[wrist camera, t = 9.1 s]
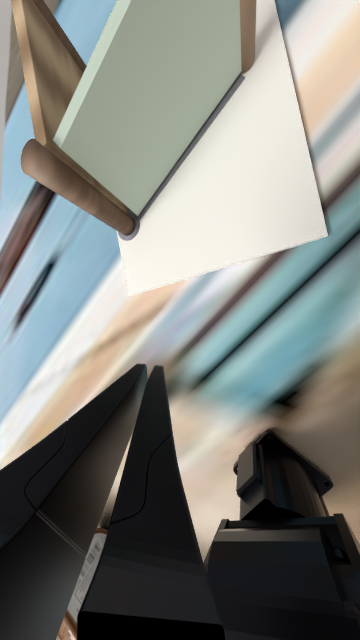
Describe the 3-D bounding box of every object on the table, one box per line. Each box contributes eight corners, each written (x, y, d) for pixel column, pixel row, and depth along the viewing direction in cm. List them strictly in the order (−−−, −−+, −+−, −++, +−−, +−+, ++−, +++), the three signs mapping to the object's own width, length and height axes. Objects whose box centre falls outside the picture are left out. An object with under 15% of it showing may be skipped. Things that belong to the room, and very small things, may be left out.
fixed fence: (137, 232, 22) (42, 163, 12) (123, 238, 23) (23, 180, 13) (111, 97, 23) (1, -76, 13) (98, 109, 24) (-15, -44, 13)
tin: (91, 523, 29) (32, 602, 21) (96, 510, 28) (38, 587, 20) (164, 609, 24) (123, 756, 16) (172, 596, 23) (134, 741, 15)
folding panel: (140, 218, 22) (60, 148, 12) (131, 209, 22) (47, 134, 13) (259, 54, 16) (275, -301, 7) (244, 45, 16) (240, -298, 7)
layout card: (326, 237, 15) (328, 235, 15) (130, 296, 23) (128, 296, 23) (261, -47, 16) (262, -58, 16) (95, 106, 24) (92, 102, 24)
